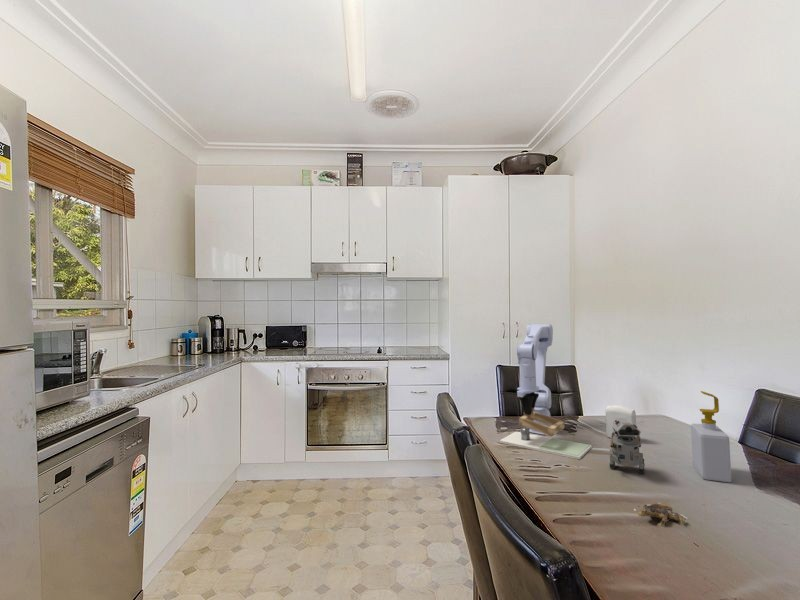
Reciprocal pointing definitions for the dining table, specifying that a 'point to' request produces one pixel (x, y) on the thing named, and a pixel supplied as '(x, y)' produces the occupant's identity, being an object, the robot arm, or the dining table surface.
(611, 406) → the photo printer
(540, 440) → the board
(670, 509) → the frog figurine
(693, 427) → the soap bottle
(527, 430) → the peg
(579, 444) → the mat
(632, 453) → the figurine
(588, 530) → the dining table surface
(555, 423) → the wooden square frame
